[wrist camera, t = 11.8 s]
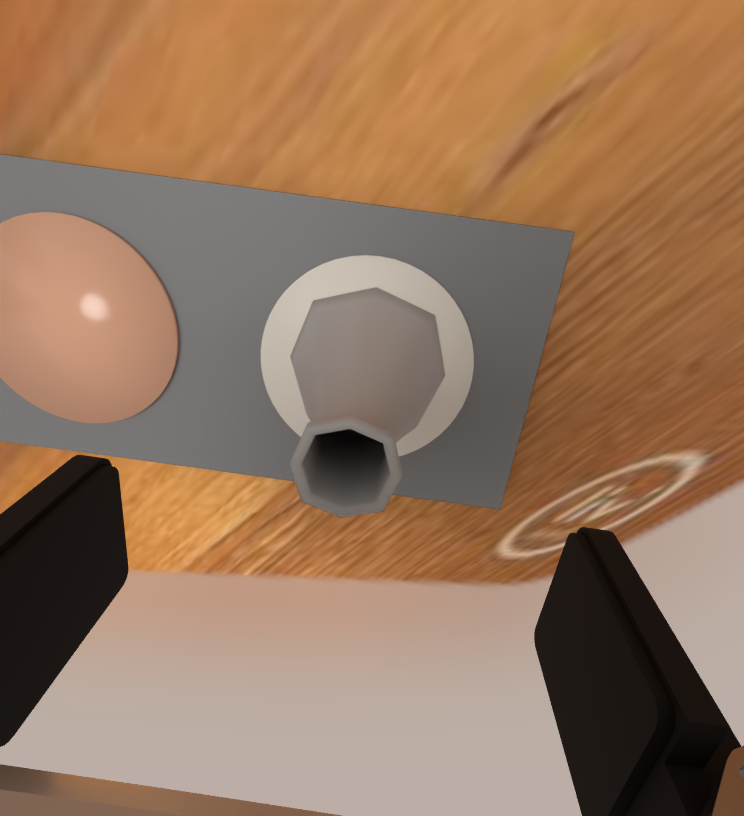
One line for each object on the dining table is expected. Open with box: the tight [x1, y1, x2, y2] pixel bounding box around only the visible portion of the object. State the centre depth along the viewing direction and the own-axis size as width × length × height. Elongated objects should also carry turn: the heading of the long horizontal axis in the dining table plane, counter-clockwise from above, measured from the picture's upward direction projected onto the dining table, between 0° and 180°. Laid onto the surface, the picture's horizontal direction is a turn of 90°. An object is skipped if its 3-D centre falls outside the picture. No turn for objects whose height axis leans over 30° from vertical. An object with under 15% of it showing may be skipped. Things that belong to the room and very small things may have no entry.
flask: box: [290, 287, 445, 518], centre depth 18 cm, size 7×7×10 cm
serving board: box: [0, 154, 575, 509], centre depth 24 cm, size 30×14×1 cm, turn 83°
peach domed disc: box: [0, 212, 180, 423], centre depth 23 cm, size 10×10×1 cm
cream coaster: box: [261, 255, 474, 456], centre depth 23 cm, size 10×10×1 cm
